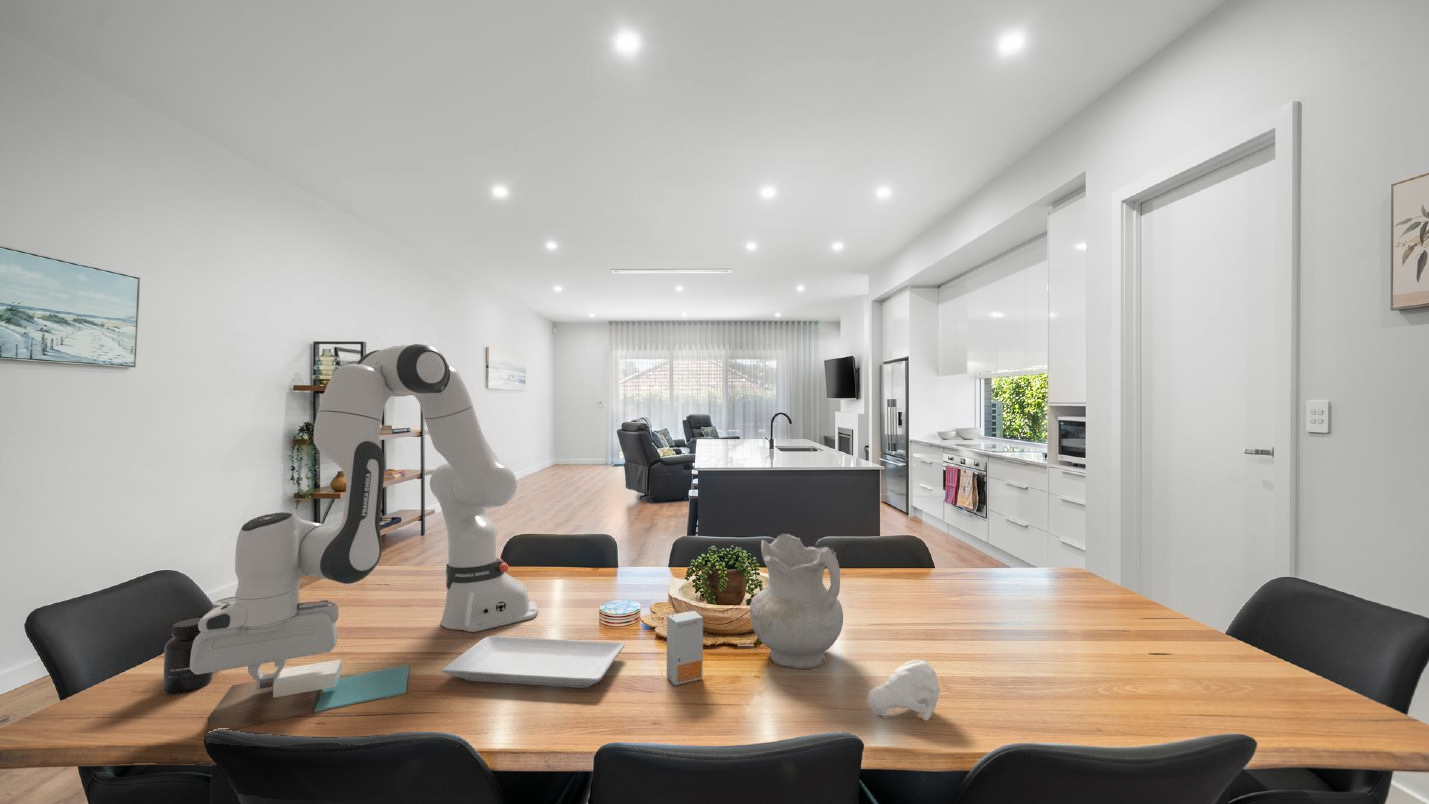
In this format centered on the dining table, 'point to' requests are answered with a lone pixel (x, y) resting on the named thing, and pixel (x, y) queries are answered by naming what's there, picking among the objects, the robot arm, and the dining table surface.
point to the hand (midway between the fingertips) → (268, 686)
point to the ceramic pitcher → (797, 603)
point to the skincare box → (684, 647)
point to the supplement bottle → (182, 660)
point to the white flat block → (307, 678)
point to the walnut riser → (258, 706)
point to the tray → (535, 661)
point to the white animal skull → (907, 690)
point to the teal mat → (364, 688)
